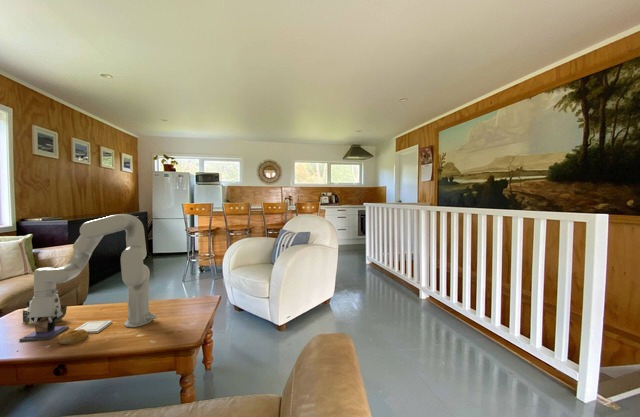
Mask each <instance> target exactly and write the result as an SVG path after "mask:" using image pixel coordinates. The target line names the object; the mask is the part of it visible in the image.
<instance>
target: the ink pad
mask: <svg viewBox="0 0 640 417" xmlns="http://www.w3.org/2000/svg"><path fill="white" fill-rule="evenodd" d="M68 329H69V325H62V326H61V325H60V326H55V328H54V329H53V330H51V331H50V332H48V333H40V334H36V331H35V330H34V331H32V332H31V333H28V334H27V335H25V336H23V337H21V338H20V339H19V342H20V343H21V342H23V343H24V342H37V341H38V342H39V341H50V340H51V339H53V338H55V337H57V336H58V335H60V334H62V333H63V332H65V331H67V330H68Z"/></svg>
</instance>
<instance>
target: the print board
mask: <svg viewBox="0 0 640 417" xmlns="http://www.w3.org/2000/svg"><path fill="white" fill-rule="evenodd" d="M112 323H113V320H111V319H110V320H100V321H99V320H97V321H87V322H85V323H82V325H80V326H78V327H76V328H75V329H74V330H80V329H84V330H85V331H87V332H88V335H89V334H98V333H99V332H101V331H102V330H104V329H105V328H107V327H108V326H109V325H111V324H112Z"/></svg>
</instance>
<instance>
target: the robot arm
mask: <svg viewBox="0 0 640 417" xmlns="http://www.w3.org/2000/svg"><path fill="white" fill-rule="evenodd" d="M121 231H125V242H126V248H125V249H124V250H123V251H122V252H121V256H120V270H121V280H122V282H123V283H124V285H126V286H127V319H126V320H125V322H124V323H123V325H124V327H126V328H137V327H141V326H145V325H147V324H149V323H150V322H152V321H153V320H156V319H157V317H158V316H157V314H156V313H152V312H151V311H150V303H149V302H150V299H149V298H150V277H151V276H150V274H151V271H150V268H149V267H148V266H147V265H146V264H144V260H145V259H146V257H147V244H146V236H145V227H144V224H143V222H142V221H141V220H140V219H139V218H138V217H137V216H135V215H133V214H129V213H120V214H112V215H109V216H106V217H102V218H101V217H100V218H97V219H93V220H89V221H86V222H84V223H82V224H81V226H79V234H80V235H79V236H78V238H77V239H76V240H75V242H74V243H73V244H72V249H73V254H72V255H71V257H70V259H68V261H67V263H66V265H64V266H60V267H57V268H55V267H54V266H46V267H39V268H36V269H35V270H34V272H33V297H32V298H31V299H32V302H31V309H30V313H29V315H28V316H27V317H28V318H30V319H31V320H32V321H33V322H34V323H33V324H35V325H34V328H35V330H34V331H36V322H38V321H40V320H41V317H48V319H49V323H48V331H50V330H52V329H54V328H55V327H56V323H55V320H56V319H57V318H58V317H60V316H61V315H62V314H63V313H62V312H61V308H60V306H61V300H60V296H59V294H58V293H59V290H58V289H57V284H62V283H66V282H69V281H70V280H73V279H74V278H76V277H77V276H78V275H80V274H81V272H82V271H83V270H84V268H85V267H86V266H87V265H88V263H89V260H90V258H91V257H92V255H93V252H94V250H95V249H96V247H97V246H98V245H99V243H100V242H101V240H103V237H104V236H106V235H109V234H114V233H117V232H121ZM55 314H57V315H55Z"/></svg>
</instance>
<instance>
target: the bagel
mask: <svg viewBox="0 0 640 417" xmlns="http://www.w3.org/2000/svg"><path fill="white" fill-rule="evenodd" d="M88 336H89V334H88V332H87V331H85V330H84V329H80V330H75V329H73V330H70V331H68V332H66V333H65V332H64V333H63V334H62V335H61V336H60V337H59V340H58V342H59V344H62V345H73V344H76V343H77V344H78V343H79V342H82V341H83V340H85V339H86V338H87V337H88Z"/></svg>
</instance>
